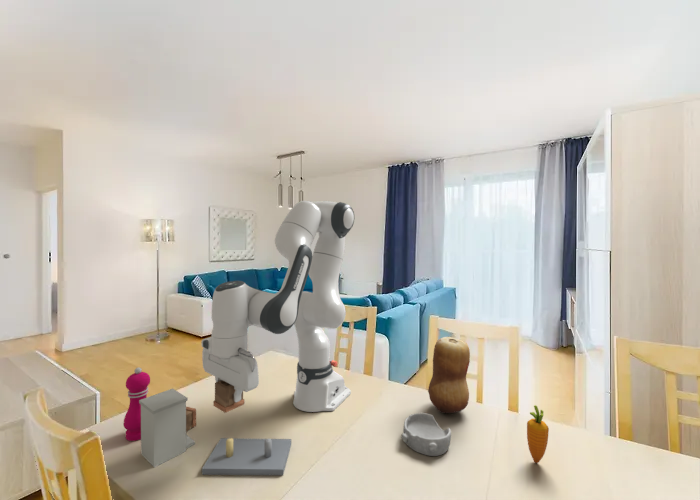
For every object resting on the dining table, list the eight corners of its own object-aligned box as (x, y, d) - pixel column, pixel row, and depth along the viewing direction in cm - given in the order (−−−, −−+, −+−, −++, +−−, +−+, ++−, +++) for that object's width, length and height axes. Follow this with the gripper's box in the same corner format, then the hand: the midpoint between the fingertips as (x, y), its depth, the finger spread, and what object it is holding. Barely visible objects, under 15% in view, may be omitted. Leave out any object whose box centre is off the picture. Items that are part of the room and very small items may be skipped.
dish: (419, 422, 104) (419, 407, 104) (459, 442, 94) (460, 426, 94) (391, 441, 94) (391, 425, 94) (433, 466, 84) (434, 448, 84)
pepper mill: (138, 444, 90) (138, 374, 90) (117, 440, 92) (116, 371, 91) (158, 429, 98) (158, 364, 97) (138, 425, 99) (138, 361, 98)
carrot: (546, 472, 83) (549, 415, 82) (524, 464, 85) (527, 409, 85) (547, 461, 87) (549, 406, 86) (526, 454, 89) (528, 401, 89)
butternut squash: (468, 425, 103) (471, 348, 102) (425, 416, 107) (427, 342, 106) (468, 404, 116) (470, 335, 115) (430, 397, 120) (432, 331, 119)
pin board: (220, 443, 91) (220, 424, 91) (291, 444, 92) (291, 425, 92) (202, 474, 79) (202, 452, 79) (283, 475, 80) (283, 453, 80)
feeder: (182, 434, 95) (182, 385, 95) (197, 445, 90) (197, 394, 90) (139, 454, 86) (139, 400, 86) (153, 468, 81) (153, 411, 81)
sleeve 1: (181, 422, 101) (181, 405, 101) (196, 425, 100) (196, 408, 100) (165, 433, 96) (165, 415, 95) (180, 436, 94) (180, 419, 94)
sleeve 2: (232, 397, 88) (232, 375, 88) (244, 404, 85) (244, 381, 84) (213, 405, 83) (213, 382, 83) (225, 413, 80) (225, 389, 80)
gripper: (265, 350, 80) (264, 405, 80) (219, 334, 92) (219, 381, 93) (243, 357, 75) (242, 415, 75) (197, 339, 87) (197, 389, 88)
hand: (229, 396), depth 84 cm, fingers closed on sleeve 2, 5 cm apart
